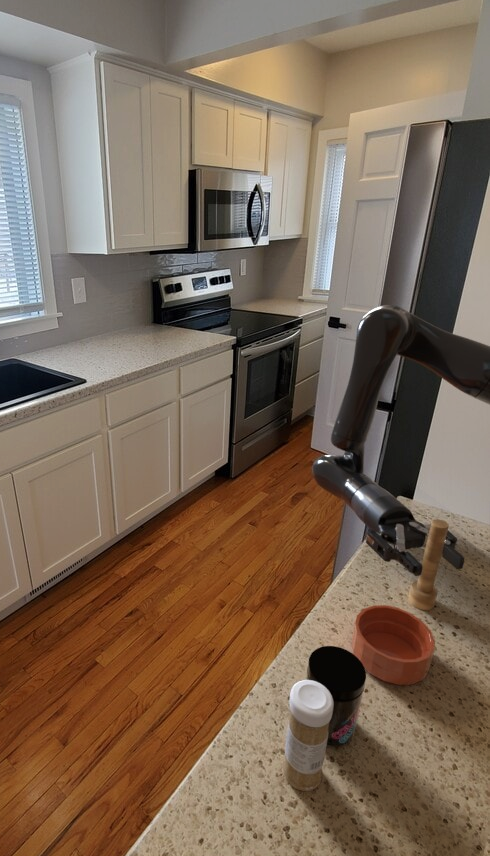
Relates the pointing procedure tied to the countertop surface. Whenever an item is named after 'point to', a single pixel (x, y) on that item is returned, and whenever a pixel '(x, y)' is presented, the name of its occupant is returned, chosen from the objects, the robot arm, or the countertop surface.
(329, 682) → the supplement container
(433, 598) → the muddler
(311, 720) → the sprinkles bottle
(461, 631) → the countertop surface
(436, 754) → the countertop surface
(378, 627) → the bowl
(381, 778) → the countertop surface
